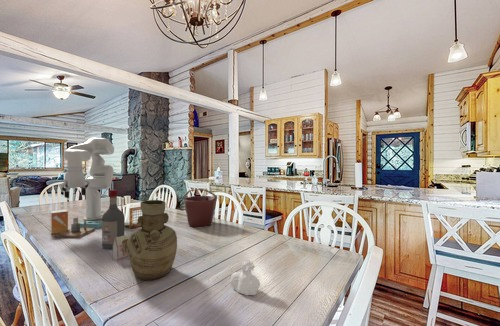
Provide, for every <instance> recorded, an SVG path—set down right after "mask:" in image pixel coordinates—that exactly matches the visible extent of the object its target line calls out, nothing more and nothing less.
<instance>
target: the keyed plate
mask: <svg viewBox="0 0 500 326" xmlns="http://www.w3.org/2000/svg"><path fill="white" fill-rule="evenodd" d="M84 221H86V228H95V229H100V228H102V220H99V221H96V220H83V221H81V222H79V223H80V228H84Z"/></svg>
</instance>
